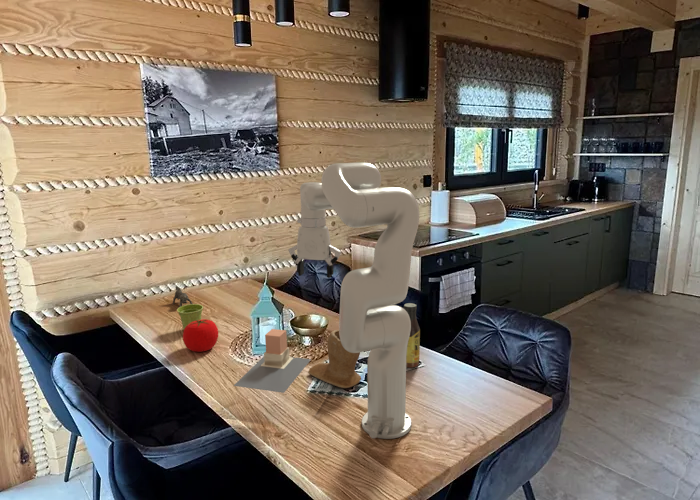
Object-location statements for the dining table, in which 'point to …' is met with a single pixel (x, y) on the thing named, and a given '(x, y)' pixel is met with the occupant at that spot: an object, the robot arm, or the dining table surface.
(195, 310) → the plant pot
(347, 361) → the tan boot
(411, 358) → the sauce bottle
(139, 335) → the dining table surface
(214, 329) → the tomato
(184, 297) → the dog figurine
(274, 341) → the terracotta block
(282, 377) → the build board
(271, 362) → the birch block
